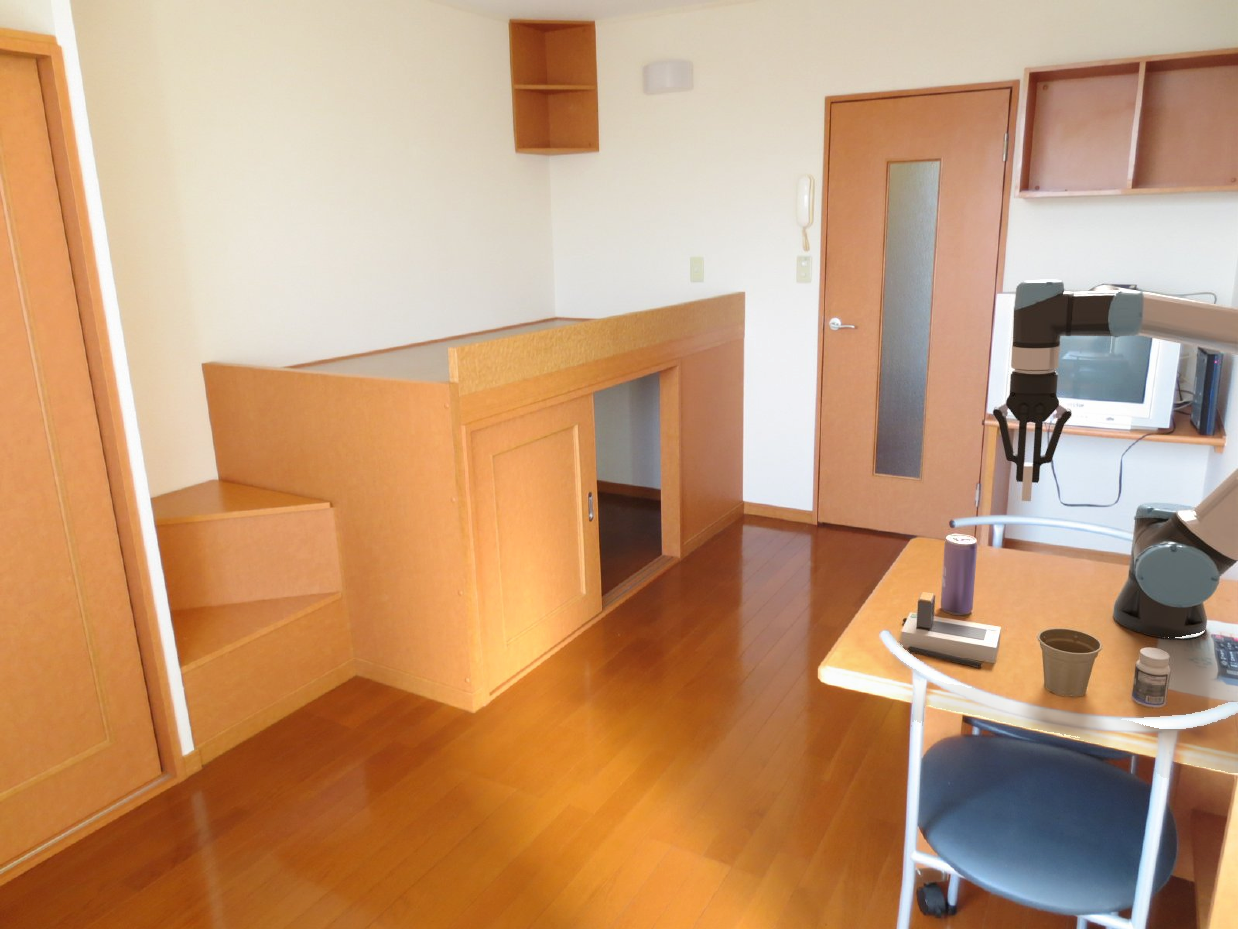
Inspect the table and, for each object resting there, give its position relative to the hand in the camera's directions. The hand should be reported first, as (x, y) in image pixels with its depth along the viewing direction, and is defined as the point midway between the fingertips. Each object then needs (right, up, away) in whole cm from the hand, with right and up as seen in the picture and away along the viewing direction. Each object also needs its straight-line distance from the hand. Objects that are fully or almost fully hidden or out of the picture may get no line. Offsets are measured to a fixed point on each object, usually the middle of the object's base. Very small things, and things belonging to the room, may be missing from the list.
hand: (1026, 498), depth 161 cm
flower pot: (-1, -31, -15) cm, 34 cm away
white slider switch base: (-14, -27, +1) cm, 30 cm away
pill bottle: (+10, -32, -20) cm, 39 cm away
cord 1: (-17, -28, -4) cm, 33 cm away
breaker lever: (-18, -23, +2) cm, 29 cm away
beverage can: (-7, -23, +15) cm, 28 cm away
